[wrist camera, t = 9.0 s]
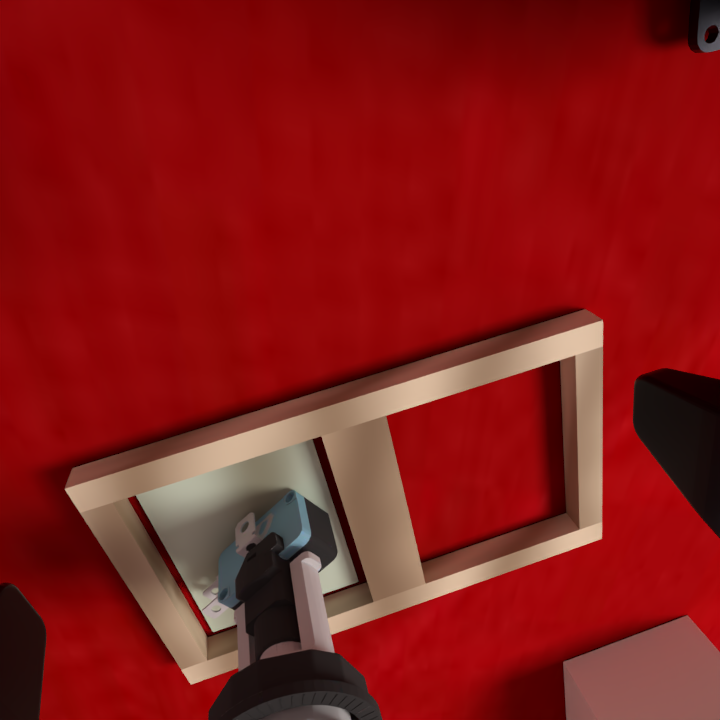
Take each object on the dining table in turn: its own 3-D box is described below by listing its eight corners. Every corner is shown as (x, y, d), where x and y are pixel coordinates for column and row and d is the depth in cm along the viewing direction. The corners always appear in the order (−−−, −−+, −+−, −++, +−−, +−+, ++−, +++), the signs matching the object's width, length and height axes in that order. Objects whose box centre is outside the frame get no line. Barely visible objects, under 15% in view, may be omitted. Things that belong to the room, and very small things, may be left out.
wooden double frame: (585, 309, 22) (602, 320, 21) (588, 521, 28) (602, 538, 27) (72, 468, 20) (64, 488, 19) (192, 660, 26) (190, 684, 25)
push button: (251, 609, 26) (267, 880, 17) (157, 560, 23) (120, 849, 14) (355, 520, 25) (428, 760, 16) (268, 459, 22) (300, 705, 13)
